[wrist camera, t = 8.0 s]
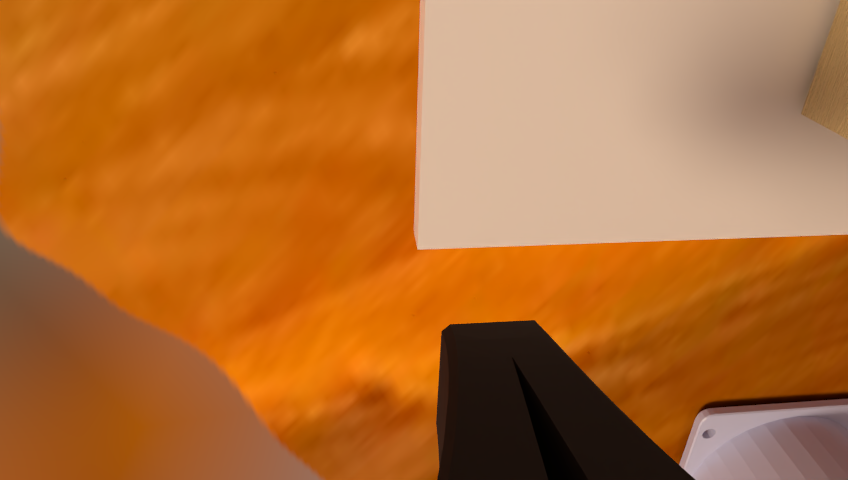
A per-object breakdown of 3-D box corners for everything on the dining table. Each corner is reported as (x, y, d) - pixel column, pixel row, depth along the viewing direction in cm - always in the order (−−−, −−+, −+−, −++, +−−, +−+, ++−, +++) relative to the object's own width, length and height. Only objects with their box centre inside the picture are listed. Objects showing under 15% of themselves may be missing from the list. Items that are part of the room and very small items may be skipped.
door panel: (901, 216, 21) (925, 231, 20) (413, 231, 19) (417, 249, 18) (1119, -244, 15) (1168, -250, 14) (428, -289, 13) (434, -300, 12)
